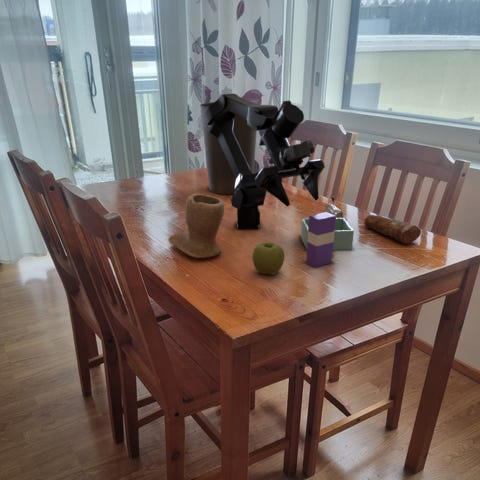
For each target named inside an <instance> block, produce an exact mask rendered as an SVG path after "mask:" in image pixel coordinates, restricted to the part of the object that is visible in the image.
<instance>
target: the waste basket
mask: <svg viewBox="0 0 480 480" xmlns="http://www.w3.org/2000/svg"><path fill="white" fill-rule="evenodd" d="M214 102H215V101H213V102H203V103H200V104H199V106H200V115H201V123H202V124H201V125H202V132H203V133H202V134H203V143H204V151H205V152H204V153H205V161H206V171H207V180H208V188H209V191H211V193H216V194H223V195H234V194H235V183H236V178H235V176H234V174H233V171H232V169H231V167H230V165H229V162H228V160H227V158H226V156H225V153H224V151H223V149H222V147H221V144H220V142H219V140H218V139H217V138H216V137H215V136H213V135H212V134H211V133H210V132H209V131H208V129H207V127H206V126H205V124H204V121H203V115H204V113H205V111H206V110H207V108H208V106H210V105H211V104H212V103H214ZM256 104H257V105H259V104H258V103H256ZM233 120H234V125H233V133H234V135H235V137H236V139H237V142H238V144H239V146H240V148H241V151H242V153H243V155H244V157H245V159H246V162H247V164H248V166H249V168H250V170H251V172H252V173H255V171H254V170H255V157H256V144H257V132H258V131H255V130H254V129H253V128H251V127H250V126H249V125H248V121H247V120H246V119H244V118H242V117H240V116H238V115H236V117H235V118H234V119H233Z"/></svg>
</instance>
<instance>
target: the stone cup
mask: <svg viewBox="0 0 480 480" xmlns="http://www.w3.org/2000/svg"><path fill="white" fill-rule="evenodd" d="M224 214H225V204H224V201H223V200H222V199H220V198H218V197H216V196H213V195H209V194H208V195H207V194H203V193H193V194H191V195H189V196H188V197H187V198H186V201H185V222H186V226H187V232H186V231H184V232H178V233H175V234H172V235H171V236H170V237H168V242H169V243H170V244H172V245H173V246H174V247H176V248H177V249H178V250H180V252H182V253H184V254H186V255H187V256H189V257H191V258H194V259H207V258H212V257H216V256H217V255H220V254H221V253H222V248H221V247H220V246H219V245H218V244H217V241H216V239H217V234H218V232H219V228H220V227H221V224H222V221H223V218H224Z"/></svg>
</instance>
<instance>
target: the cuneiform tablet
mask: <svg viewBox="0 0 480 480" xmlns="http://www.w3.org/2000/svg"><path fill="white" fill-rule="evenodd" d="M335 203H336V202H335V197H334V196H331V203H327V204H325V210H324V213H325V212H327V213H330V214H332V215H335V216H336V218H344V211H343V210H342V209H339V207H336V205H335Z"/></svg>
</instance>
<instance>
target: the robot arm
mask: <svg viewBox="0 0 480 480" xmlns="http://www.w3.org/2000/svg"><path fill="white" fill-rule="evenodd" d="M213 102H214V103H212V104H211V105H210V106H208V108H207V110H206V111H205V113H204V115H203V121H204V124H205V126H206V127H207V129H208V131H209V132H210V133H211V134H212V135H213V136H215V137H216V138H217V139H218V140H219V142H220V144H221V147H222V149H223V151H224V153H225V156H226V158H227V160H228V162H229V165H230V167H231V169H232V171H233V174H234V176H235V178H236V183H235V194H232V196H231V198H230V204H231V207H233V208H235V209H236V229H238V230H252V229H255V230H256V229H260V225H261V210H260V209H259V207H260V206H264V204H265V201H266V200H265V199H266V196H267V193H268V194H270V195H272V196H273V197H274V198H276V199H277V200H278V201H280V202H281V203H282V204H283V205H285V206H286V207H289V206H290V205H291V202H290V199H289V197H288V195H287V192H286V190H285V187H284V185H283V179H287V178H293V177H297V176H299V177H300V179H301V180H303V181H302V185H303V186H304V187H305V188H306V190H307V191H308V193H309V194H310V196H311V197H312V199H313V200H314V201H315V202H316V201H318V200H319V198H320V197H319V195H320V194H319V184H318V183H319V175H321V173H322V172H323V170H324V169H325V168H326V165H325V164H324V162H323V160H322V159H318V158H317V159H311V160H307V162H305V164H304V165H303V166H300V165H302V164H303V163H304V159H306V158H310V157H312V154H314V153H315V150H316V149H315V145H314V143H313V142H312V140H311V139H310V140H309V139H308V140H305V141H302V142H301V143H296V144H292V145H291V144H290V143H289V140H288V139H289V138H291V137H293V135H294V134H295V132H296V131H298V128H299V127H300V126H301V124H302V123H303V121H304V120H305V114H304V112H303V110H302V109H300V107H298V106H297V105H295V104H293V103H292V101H291V100H283V101H282V103H281V104H280V107H279V108H278V107H277V106H276V105H274V104H258V103H255V102H253V101H250V100H248V99H246V98H243V97H241V96H239V95H238V94H237V93H223V94H221V95H219V97H218V98H217V99H216V100H215V101H213ZM257 104H258V105H257ZM236 115H238V116H240V117H242V118H244V119H246V120H247V121H248V125H249V126H250V127H251V128H253V129H254V130H255V131H257V132H258V131H264V133H263V134H260V139H259V141H258V145H259V146H260V147H262V146H264V147H265V148H266V150H267V153H268V155H269V157H270V158H269V159H268V163H269V166H263V167H262V168H261V170H260V171H259V172H254V173H252V172H251V170H250V168H249V166H248V164H247V162H246V159H245V157H244V155H243V153H242V151H241V148H240V146H239V144H238V142H237V139H236V137H235V135H234V133H233V125H234V120H233V119H234V118H235V117H236ZM270 165H271V166H270Z"/></svg>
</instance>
